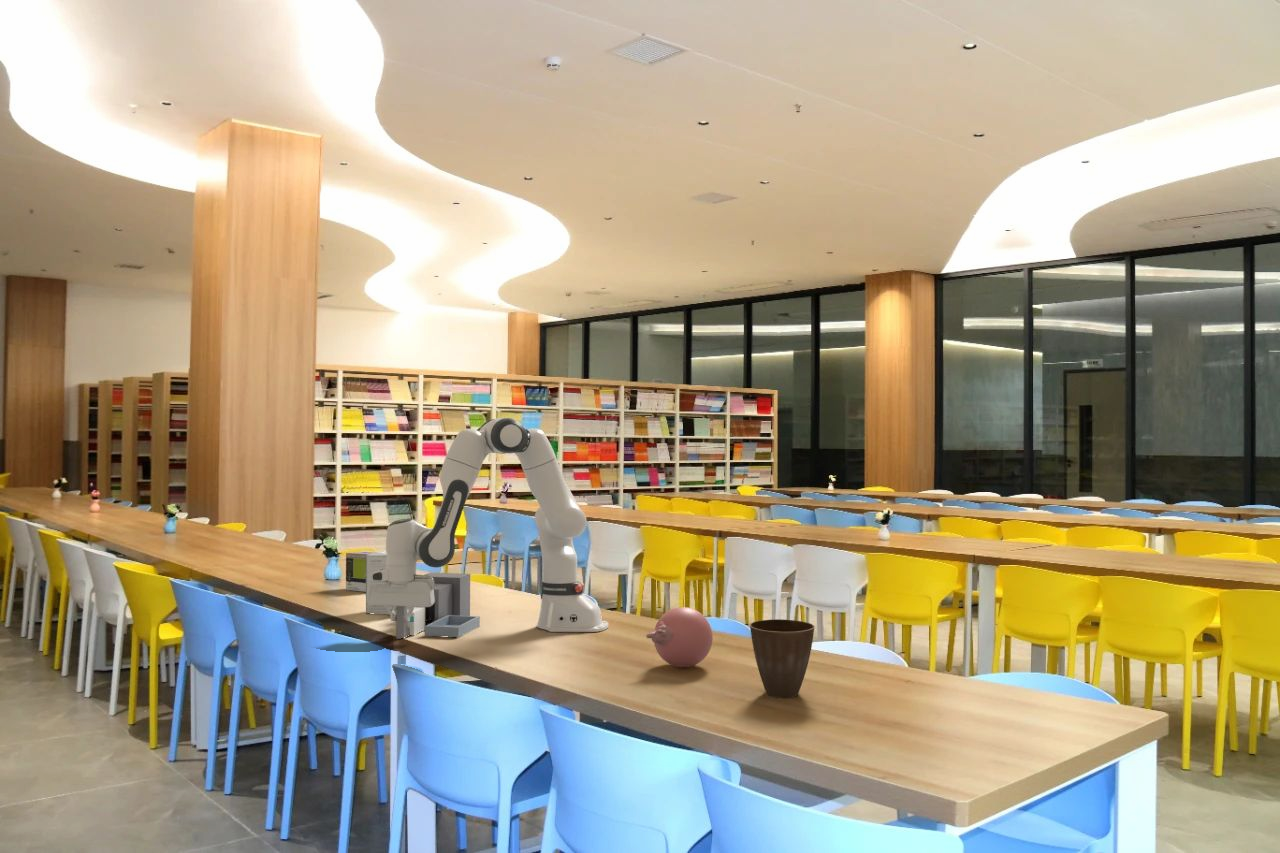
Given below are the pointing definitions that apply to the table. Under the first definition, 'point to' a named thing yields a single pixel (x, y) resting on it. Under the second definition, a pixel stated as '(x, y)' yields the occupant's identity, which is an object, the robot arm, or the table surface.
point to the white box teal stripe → (413, 625)
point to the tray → (452, 626)
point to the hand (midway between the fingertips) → (400, 621)
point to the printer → (449, 596)
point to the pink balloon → (682, 637)
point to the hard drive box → (372, 565)
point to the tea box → (357, 570)
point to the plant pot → (782, 654)
